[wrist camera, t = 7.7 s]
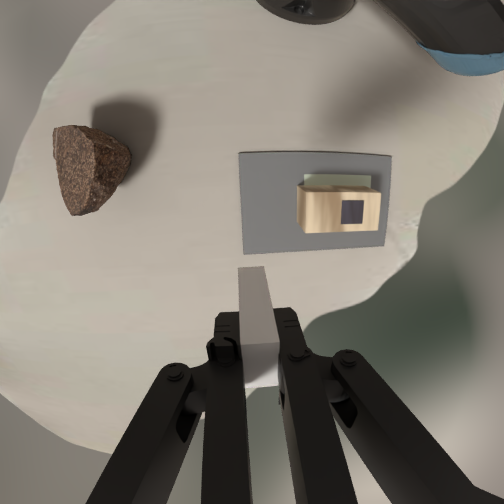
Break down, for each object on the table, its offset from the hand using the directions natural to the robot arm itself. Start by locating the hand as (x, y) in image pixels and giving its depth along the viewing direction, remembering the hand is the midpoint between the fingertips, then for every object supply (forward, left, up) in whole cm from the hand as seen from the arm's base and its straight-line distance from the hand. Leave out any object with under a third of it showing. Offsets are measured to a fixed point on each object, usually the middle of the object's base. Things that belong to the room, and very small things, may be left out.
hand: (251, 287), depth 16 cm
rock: (+11, -16, -22) cm, 30 cm away
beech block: (-6, +4, -19) cm, 20 cm away
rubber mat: (-9, +6, -22) cm, 24 cm away
